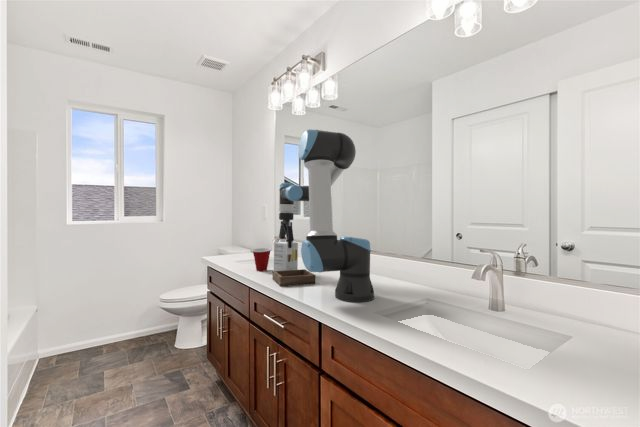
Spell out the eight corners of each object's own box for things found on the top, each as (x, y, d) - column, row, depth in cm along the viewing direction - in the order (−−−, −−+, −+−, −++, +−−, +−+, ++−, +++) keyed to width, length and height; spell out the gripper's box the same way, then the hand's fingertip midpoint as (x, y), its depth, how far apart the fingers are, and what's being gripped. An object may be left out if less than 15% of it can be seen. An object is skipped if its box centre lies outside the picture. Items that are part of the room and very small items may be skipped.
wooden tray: (315, 283, 140) (315, 275, 140) (280, 286, 134) (280, 277, 134) (304, 277, 154) (304, 269, 154) (272, 279, 148) (272, 271, 148)
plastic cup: (247, 270, 172) (248, 248, 172) (264, 267, 179) (264, 247, 179) (257, 272, 164) (258, 250, 164) (274, 270, 171) (275, 249, 171)
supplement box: (286, 276, 155) (287, 243, 155) (272, 274, 160) (273, 242, 160) (298, 274, 163) (298, 242, 163) (284, 272, 168) (285, 241, 168)
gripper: (300, 212, 151) (299, 255, 151) (287, 212, 174) (286, 249, 175) (285, 212, 148) (284, 256, 149) (274, 212, 172) (273, 249, 172)
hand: (285, 252), depth 162 cm, fingers open, 13 cm apart
